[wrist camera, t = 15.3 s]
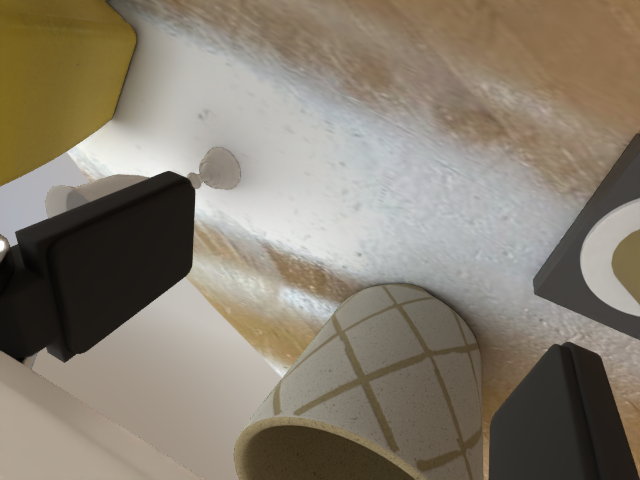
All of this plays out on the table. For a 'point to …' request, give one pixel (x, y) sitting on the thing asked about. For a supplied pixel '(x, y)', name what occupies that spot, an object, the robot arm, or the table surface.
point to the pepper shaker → (628, 264)
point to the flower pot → (57, 77)
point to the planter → (374, 398)
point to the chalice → (214, 172)
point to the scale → (598, 251)
